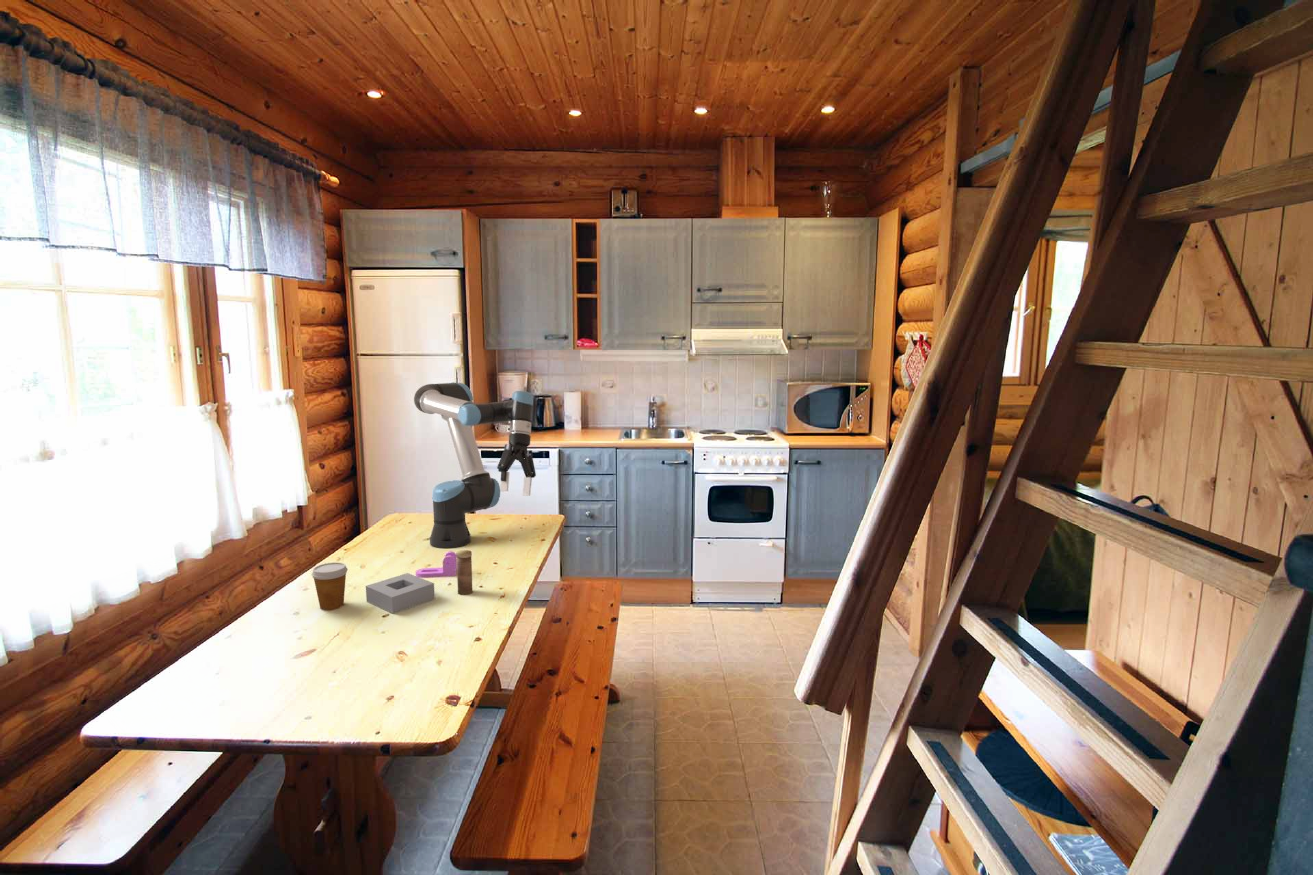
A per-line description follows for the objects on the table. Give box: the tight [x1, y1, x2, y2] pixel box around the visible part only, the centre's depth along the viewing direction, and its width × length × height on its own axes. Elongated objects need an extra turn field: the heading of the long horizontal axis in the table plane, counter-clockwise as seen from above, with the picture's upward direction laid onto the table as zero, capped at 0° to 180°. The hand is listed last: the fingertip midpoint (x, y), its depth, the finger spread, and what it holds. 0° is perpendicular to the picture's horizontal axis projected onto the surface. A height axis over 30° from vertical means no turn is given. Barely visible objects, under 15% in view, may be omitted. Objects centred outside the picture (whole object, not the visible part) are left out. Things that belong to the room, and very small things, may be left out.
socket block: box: [365, 572, 436, 615], centre depth 200 cm, size 14×14×5 cm
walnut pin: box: [455, 549, 473, 596], centre depth 206 cm, size 5×5×13 cm
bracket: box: [415, 551, 457, 579], centre depth 222 cm, size 13×6×7 cm, turn 100°
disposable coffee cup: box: [311, 561, 348, 611], centre depth 195 cm, size 10×10×12 cm
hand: (515, 493), depth 232 cm, fingers open, 13 cm apart
